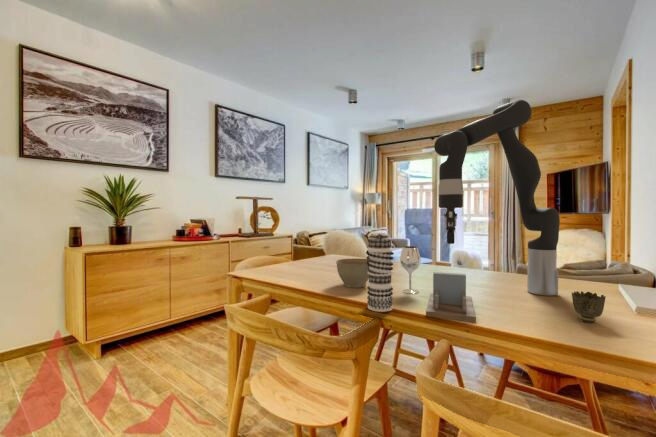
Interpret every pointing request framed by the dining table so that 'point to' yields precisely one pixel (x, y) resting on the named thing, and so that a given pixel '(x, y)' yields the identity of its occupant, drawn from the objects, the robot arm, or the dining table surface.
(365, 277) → the planter bowl
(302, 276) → the dining table surface
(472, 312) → the dish rack
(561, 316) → the dining table surface
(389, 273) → the decorative candle
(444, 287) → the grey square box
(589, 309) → the cup
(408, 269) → the wineglass
